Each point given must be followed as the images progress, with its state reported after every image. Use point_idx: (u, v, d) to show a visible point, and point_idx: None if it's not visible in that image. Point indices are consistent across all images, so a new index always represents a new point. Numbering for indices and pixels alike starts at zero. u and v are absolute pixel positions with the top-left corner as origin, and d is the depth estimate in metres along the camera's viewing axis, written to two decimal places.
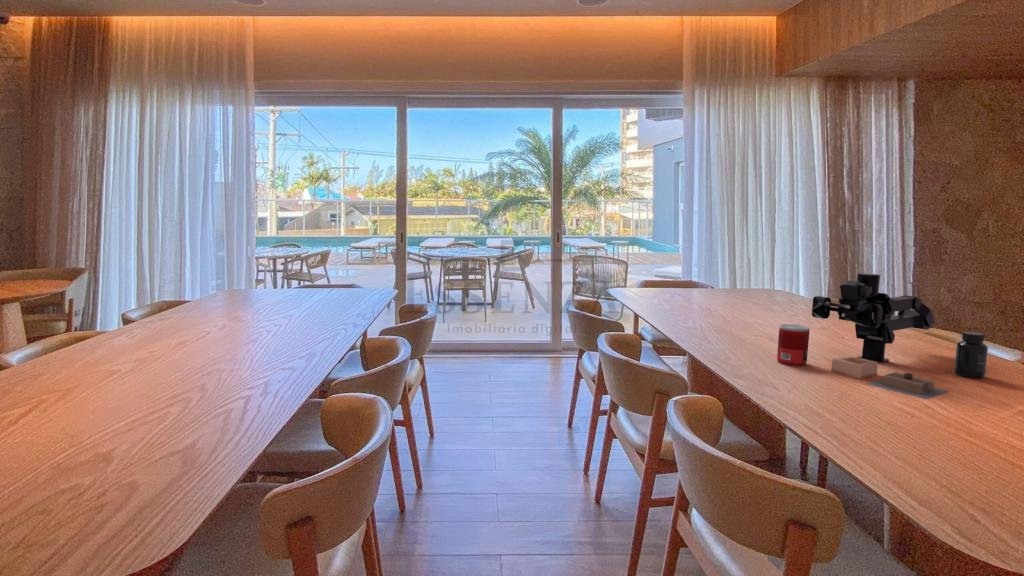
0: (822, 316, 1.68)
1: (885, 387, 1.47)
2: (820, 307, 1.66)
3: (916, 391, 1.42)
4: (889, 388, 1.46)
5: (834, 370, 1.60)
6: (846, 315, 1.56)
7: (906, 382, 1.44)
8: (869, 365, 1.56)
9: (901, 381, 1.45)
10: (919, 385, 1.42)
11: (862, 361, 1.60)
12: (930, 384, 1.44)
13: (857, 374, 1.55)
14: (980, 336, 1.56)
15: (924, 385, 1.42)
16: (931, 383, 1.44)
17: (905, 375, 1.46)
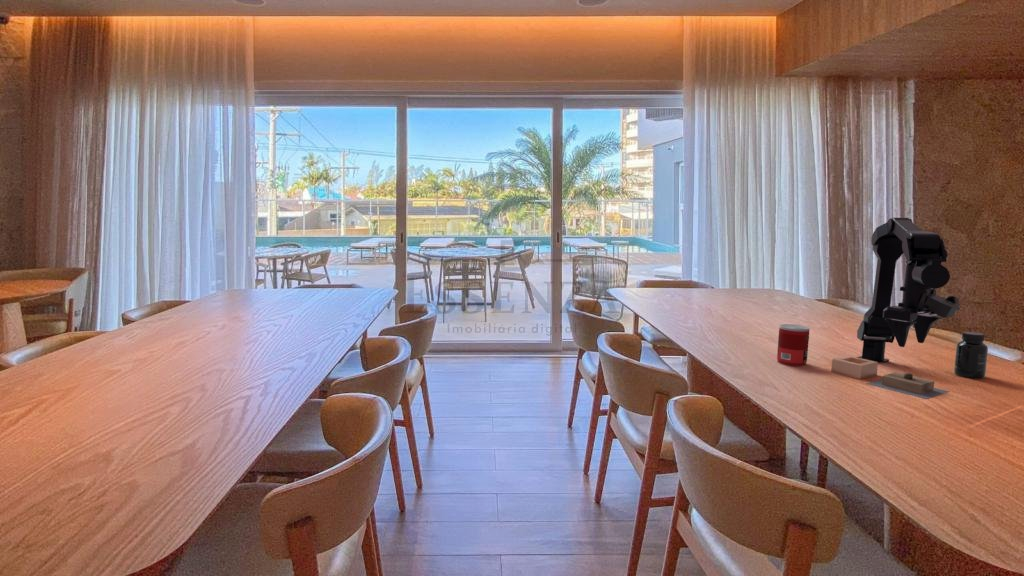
0: None
1: (885, 387, 1.47)
2: None
3: (916, 391, 1.42)
4: (889, 388, 1.46)
5: (834, 370, 1.60)
6: None
7: (906, 382, 1.44)
8: (869, 365, 1.56)
9: (901, 381, 1.45)
10: (919, 385, 1.42)
11: (862, 361, 1.60)
12: (930, 384, 1.44)
13: (857, 374, 1.55)
14: (980, 336, 1.56)
15: (924, 385, 1.42)
16: (931, 383, 1.44)
17: (905, 375, 1.46)
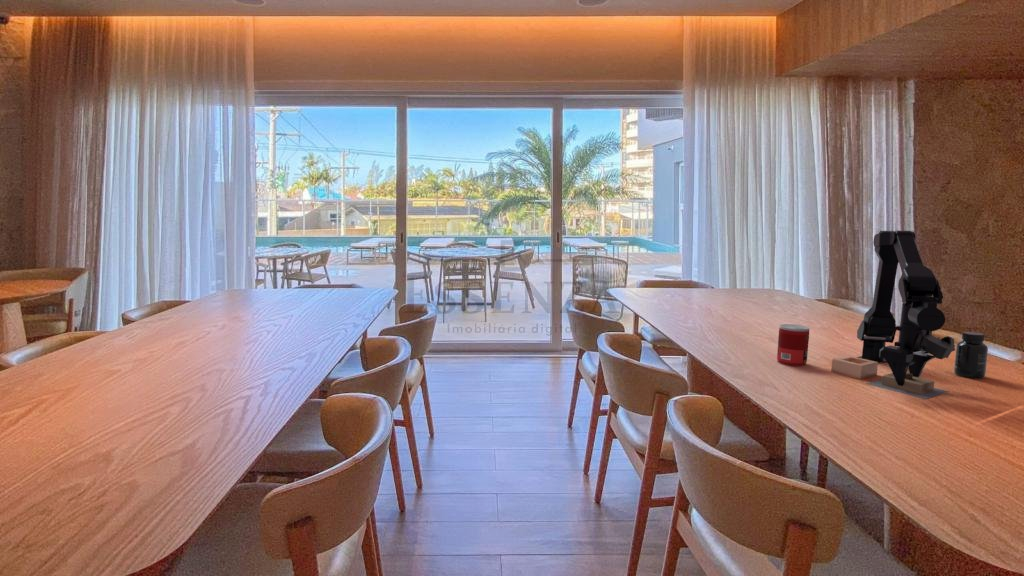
0: None
1: (885, 387, 1.47)
2: None
3: (916, 391, 1.42)
4: (889, 388, 1.46)
5: (834, 370, 1.60)
6: None
7: (906, 382, 1.44)
8: (869, 365, 1.56)
9: None
10: (919, 385, 1.42)
11: (862, 361, 1.60)
12: (930, 384, 1.44)
13: (857, 374, 1.55)
14: (980, 336, 1.56)
15: (924, 385, 1.42)
16: (931, 383, 1.44)
17: None
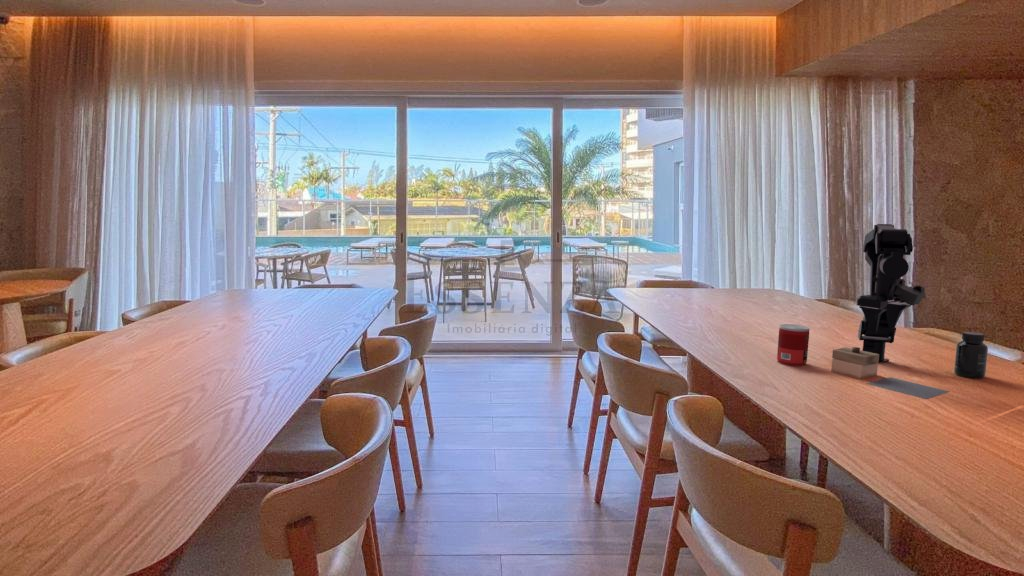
0: None
1: (885, 387, 1.47)
2: None
3: (861, 363, 1.54)
4: (889, 388, 1.46)
5: (834, 370, 1.60)
6: None
7: (853, 355, 1.56)
8: (869, 365, 1.56)
9: (849, 354, 1.57)
10: (864, 357, 1.54)
11: None
12: (875, 357, 1.56)
13: (857, 374, 1.55)
14: (980, 336, 1.56)
15: (869, 357, 1.54)
16: (876, 356, 1.56)
17: (853, 349, 1.58)
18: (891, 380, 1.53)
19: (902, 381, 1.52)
